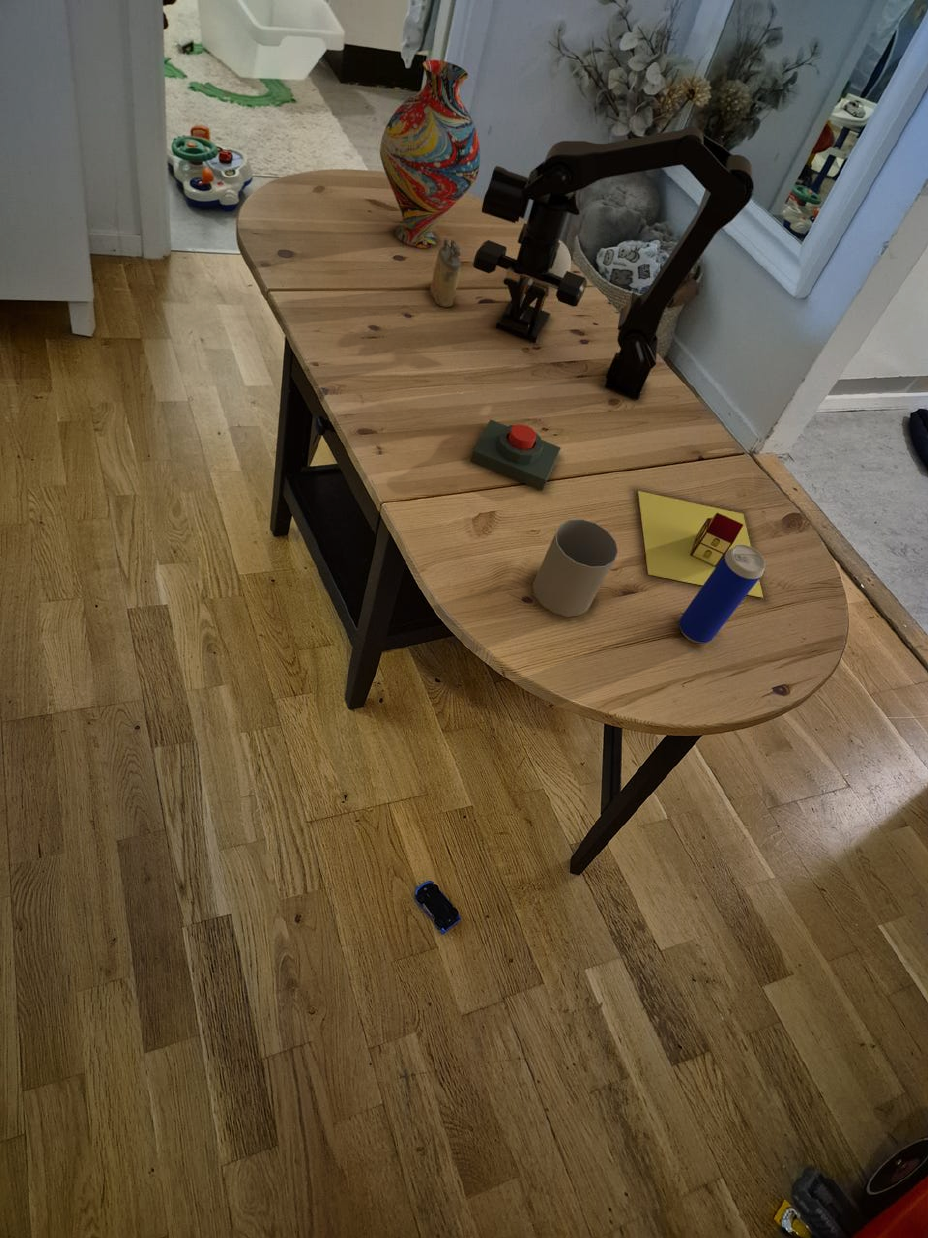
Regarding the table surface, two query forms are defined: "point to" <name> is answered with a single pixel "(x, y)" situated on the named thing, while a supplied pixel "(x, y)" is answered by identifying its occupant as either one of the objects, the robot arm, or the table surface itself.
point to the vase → (430, 152)
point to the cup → (574, 567)
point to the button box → (515, 456)
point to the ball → (561, 262)
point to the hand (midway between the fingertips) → (516, 318)
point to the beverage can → (722, 593)
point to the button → (522, 437)
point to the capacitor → (446, 274)
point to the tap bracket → (527, 319)
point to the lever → (513, 322)
